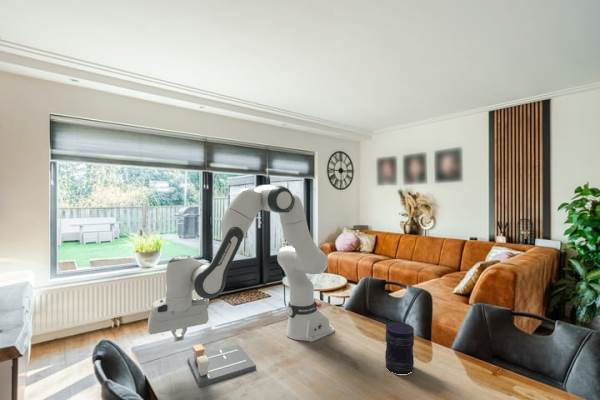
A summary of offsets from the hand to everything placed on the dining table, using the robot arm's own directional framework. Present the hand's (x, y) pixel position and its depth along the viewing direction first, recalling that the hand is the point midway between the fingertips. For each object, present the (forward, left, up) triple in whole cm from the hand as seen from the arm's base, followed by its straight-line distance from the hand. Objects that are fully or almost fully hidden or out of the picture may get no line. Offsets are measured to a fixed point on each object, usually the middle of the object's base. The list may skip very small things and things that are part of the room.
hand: (178, 340), depth 112 cm
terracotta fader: (-7, 0, -9) cm, 11 cm away
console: (-14, +4, -11) cm, 18 cm away
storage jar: (-69, +39, -11) cm, 80 cm away
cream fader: (-6, +9, -9) cm, 14 cm away
